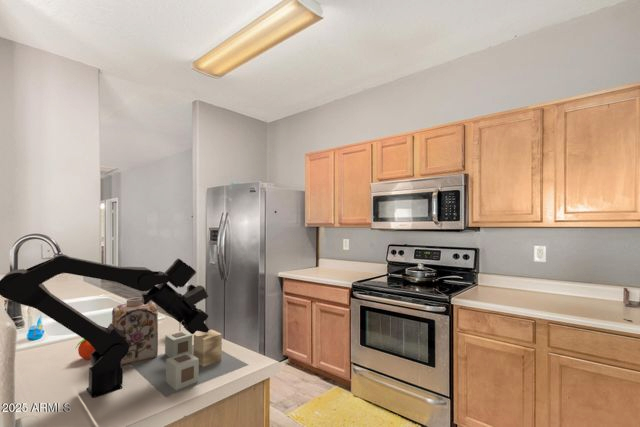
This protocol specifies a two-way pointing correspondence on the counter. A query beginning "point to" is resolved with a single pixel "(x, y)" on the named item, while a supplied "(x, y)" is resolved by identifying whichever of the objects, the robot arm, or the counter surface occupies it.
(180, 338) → the brown paneled pale cube
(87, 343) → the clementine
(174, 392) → the slate rubber mat
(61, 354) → the counter surface
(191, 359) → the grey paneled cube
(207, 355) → the plain maple block
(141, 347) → the decorative jar
